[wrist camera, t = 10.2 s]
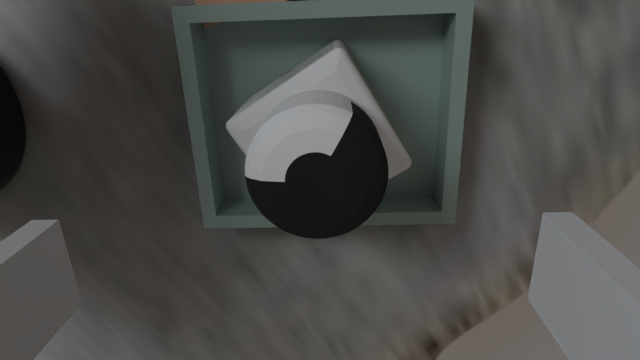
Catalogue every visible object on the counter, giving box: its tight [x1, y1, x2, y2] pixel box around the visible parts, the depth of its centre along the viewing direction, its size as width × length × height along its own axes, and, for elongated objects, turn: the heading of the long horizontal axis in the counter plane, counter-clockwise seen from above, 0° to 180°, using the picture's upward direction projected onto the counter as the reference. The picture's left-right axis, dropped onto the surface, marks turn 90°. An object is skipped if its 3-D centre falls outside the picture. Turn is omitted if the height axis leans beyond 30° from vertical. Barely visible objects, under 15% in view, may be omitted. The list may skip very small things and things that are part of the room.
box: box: [171, 0, 475, 229], centre depth 30 cm, size 18×15×4 cm
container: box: [226, 39, 412, 239], centre depth 25 cm, size 8×8×13 cm
